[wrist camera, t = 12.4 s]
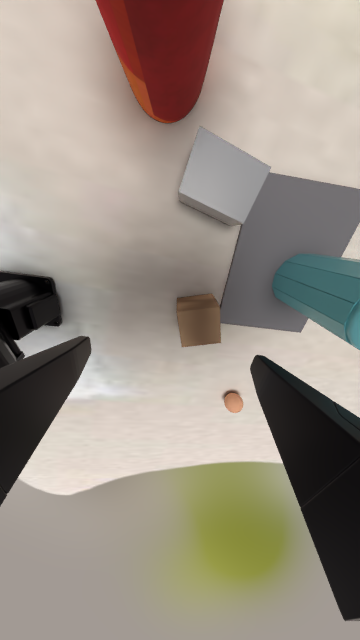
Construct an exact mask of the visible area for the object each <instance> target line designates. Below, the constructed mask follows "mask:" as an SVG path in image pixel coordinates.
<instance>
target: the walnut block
mask: <svg viewBox="0 0 360 640" xmlns="http://www.w3.org/2000/svg"><path fill="white" fill-rule="evenodd" d="M177 318H178V324H179V331H180V338H181V344H182V347H188V346H197V345H206V344H215V343H221V332H220V306H219V304H218V303H217V301H216V299H215V298H214V296H213V294H205V295H197V296H189V297H181V298H177Z"/></svg>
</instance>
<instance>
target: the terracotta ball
mask: <svg viewBox="0 0 360 640" xmlns="http://www.w3.org/2000/svg"><path fill="white" fill-rule="evenodd" d="M224 402H225V406H226V408H227V409H228V410H229V411H230V412H233V413H237V412H239V411H241V410H242V408H243V401H242V398H241V397H240V396H239V395H238V394H236V393H230V394H228V395H227V396H226V397H225V401H224Z"/></svg>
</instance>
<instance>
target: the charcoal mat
mask: <svg viewBox="0 0 360 640" xmlns="http://www.w3.org/2000/svg"><path fill="white" fill-rule="evenodd" d="M359 223H360V189H356V188H351V187H345V186H340V185H335V184H329V183H324V182H318V181H313V180H308V179H302V178H297V177H291V176H286V175H280V174H275V173H270V172H269V173H268V175H267V177H266V179H265V181H264V183H263V185H262V187H261V189H260V191H259V193H258V195H257V197H256V199H255V201H254V203H253V205H252V207H251V210H250V212H249V214H248V216H247V218H246V220H245V222H244V224H242V225H241V229H240V233H239V236H238V240H237V244H236V248H235V252H234V256H233V259H232V263H231V267H230V271H229V275H228V279H227V282H226V286H225V290H224V294H223V298H222V301H221V305H220V323H224V324H233V325H241V326H250V327H258V328H267V329H275V330H284V331H292V332H300V333H301V331H302V329H303V327H304V325H305V324H306V322H307V320H308V317H306V316H305V315H303V314H301V313H300V312H298V311H297V310H295V309H293V308H292V307H290V306H289V305H287V304H285V303H284V302H282V301H281V300H279V299H278V298H276V297H275V294H274V291H273V288H272V283H273V279H274V275H275V273H276V271H277V270H278V269H279V268H280V267H281V265H282V264H283V263H284V262H285V261H286V260H288V259H290V258H292V257H294V256H296V255H298V254H319V255H326V256H334V257H341V256H342V254H343V253H344V251H345V249H346V247H347V245H348V243H349V241H350V239H351V238H352V236H353V234H354V232H355V230H356V228H357V226H358V224H359Z"/></svg>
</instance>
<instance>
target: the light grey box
mask: <svg viewBox="0 0 360 640" xmlns="http://www.w3.org/2000/svg"><path fill="white" fill-rule="evenodd" d="M270 169H271V167H270V166H268V165H267V164H265V163H263V162H261V161H260V160H258V159H256V158H254V157H253V156H251V155H249V154H248V153H246V152H244V151H242V150H241V149H239V148H237V147H235V146H234V145H232V144H230V143H229V142H227V141H225V140H223V139H222V138H220V137H218V136H216V135H215V134H213V133H211V132H210V131H208V130H206V129H204V128H203V127H201V126H199V129H198V132H197V135H196V138H195V141H194V145H193V148H192V151H191V154H190V157H189V160H188V163H187V167H186V170H185V173H184V176H183V179H182V182H181V185H180V189H179V201H180V202H182V203H184V204H186V205H188V206H190V207H193V208H195V209H197V210H199V211H201V212H203V213H205V214H207V215H209V216H211V217H213V218H215V219H217V220H219V221H221V222H224V223H226V224H228V225H230V226H234V225H239V224H244V222H245V220H246V218H247V216H248V214H249V212H250V210H251V207H252V205H253V203H254V201H255V199H256V197H257V195H258V193H259V191H260V189H261V187H262V185H263V183H264V181H265V179H266V177H267V175H268V173H269V171H270Z"/></svg>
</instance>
